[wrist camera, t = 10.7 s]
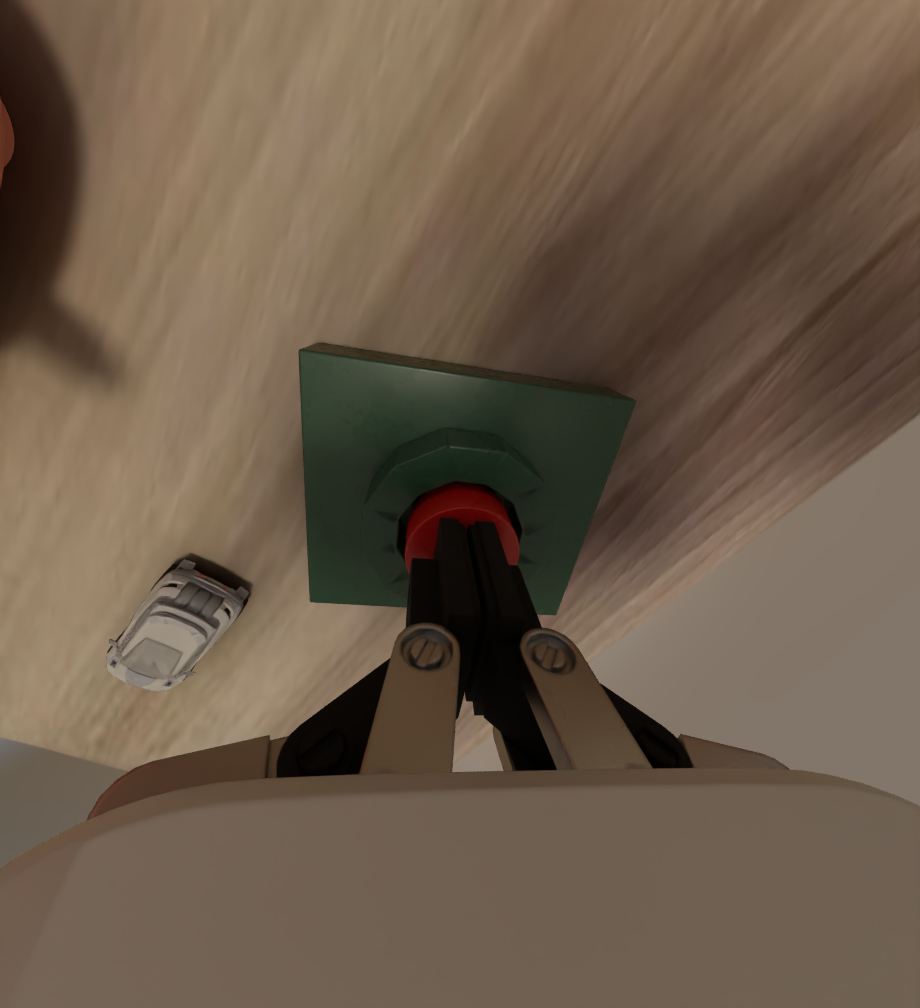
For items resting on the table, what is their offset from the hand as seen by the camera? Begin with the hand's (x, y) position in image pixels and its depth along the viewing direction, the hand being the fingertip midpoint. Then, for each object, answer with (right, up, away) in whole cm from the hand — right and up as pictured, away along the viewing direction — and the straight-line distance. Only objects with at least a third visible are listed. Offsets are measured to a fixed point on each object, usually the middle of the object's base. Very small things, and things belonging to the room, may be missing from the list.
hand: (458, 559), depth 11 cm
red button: (0, +1, +2) cm, 2 cm away
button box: (0, +2, +4) cm, 5 cm away
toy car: (-13, -4, +7) cm, 15 cm away
